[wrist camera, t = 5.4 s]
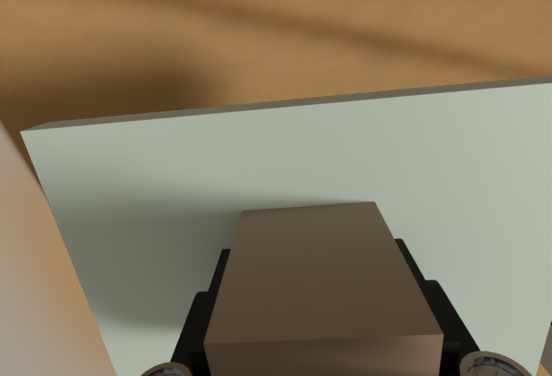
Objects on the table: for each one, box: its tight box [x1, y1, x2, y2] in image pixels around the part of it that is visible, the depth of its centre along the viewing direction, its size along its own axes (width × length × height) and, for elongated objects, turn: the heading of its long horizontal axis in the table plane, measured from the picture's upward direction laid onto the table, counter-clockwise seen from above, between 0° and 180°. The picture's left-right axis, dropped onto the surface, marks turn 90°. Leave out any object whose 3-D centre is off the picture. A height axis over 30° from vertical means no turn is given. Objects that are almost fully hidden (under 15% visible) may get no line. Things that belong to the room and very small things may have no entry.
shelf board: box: [20, 75, 552, 376], centre depth 10 cm, size 16×11×6 cm
